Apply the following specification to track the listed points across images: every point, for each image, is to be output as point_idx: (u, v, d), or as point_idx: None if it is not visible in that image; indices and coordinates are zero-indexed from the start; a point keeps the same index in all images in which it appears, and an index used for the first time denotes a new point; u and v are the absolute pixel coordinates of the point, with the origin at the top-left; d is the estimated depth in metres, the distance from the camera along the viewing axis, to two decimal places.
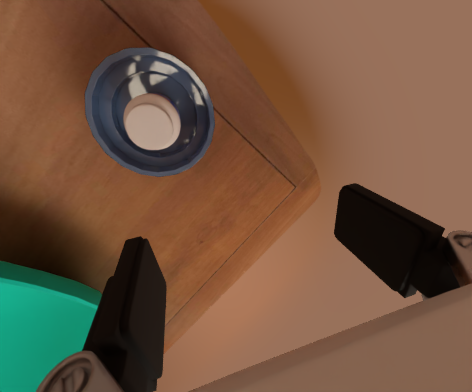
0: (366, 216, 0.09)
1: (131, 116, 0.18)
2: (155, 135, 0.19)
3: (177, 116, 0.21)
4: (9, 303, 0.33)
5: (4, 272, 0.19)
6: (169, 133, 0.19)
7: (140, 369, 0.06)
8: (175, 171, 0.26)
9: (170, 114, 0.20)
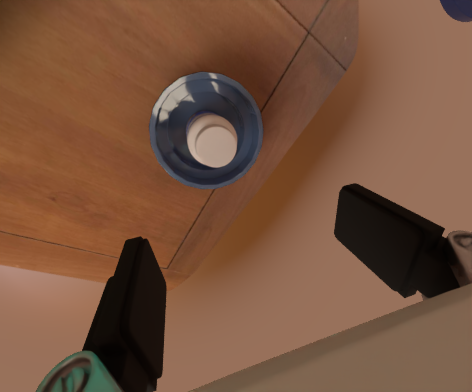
0: (366, 216, 0.09)
1: (224, 132, 0.19)
2: (211, 153, 0.20)
3: None
4: None
5: None
6: (215, 165, 0.20)
7: (140, 369, 0.06)
8: (162, 162, 0.24)
9: None
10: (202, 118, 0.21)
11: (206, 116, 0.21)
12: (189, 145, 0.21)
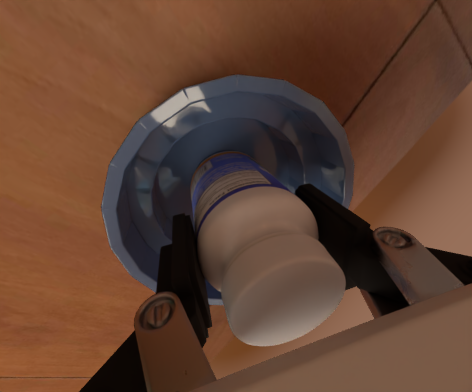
0: (314, 214, 0.09)
1: (322, 270, 0.06)
2: (273, 322, 0.07)
3: None
4: None
5: None
6: (279, 341, 0.07)
7: (200, 314, 0.07)
8: (138, 273, 0.11)
9: None
10: (241, 204, 0.07)
11: (251, 197, 0.08)
12: (203, 268, 0.08)
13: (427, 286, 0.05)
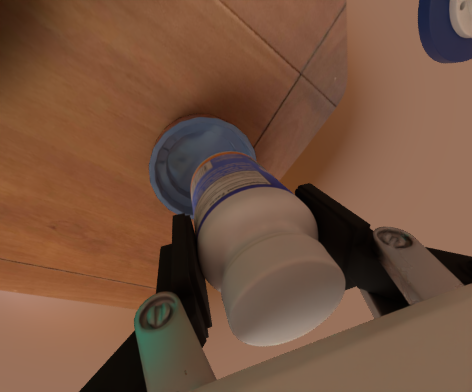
0: (314, 214, 0.09)
1: (321, 270, 0.06)
2: (273, 322, 0.07)
3: None
4: None
5: None
6: (279, 341, 0.07)
7: (200, 314, 0.07)
8: (160, 197, 0.25)
9: None
10: (241, 205, 0.07)
11: (251, 197, 0.08)
12: (203, 268, 0.08)
13: (427, 286, 0.05)
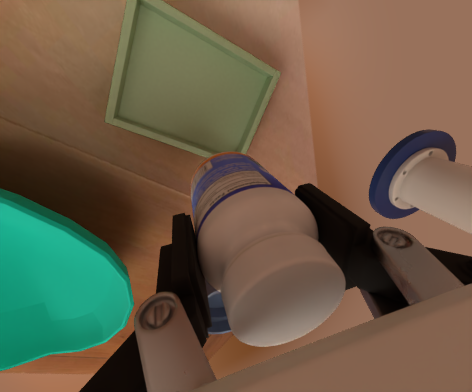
0: (314, 214, 0.09)
1: (322, 271, 0.06)
2: (273, 322, 0.07)
3: None
4: None
5: None
6: (279, 341, 0.07)
7: (200, 314, 0.07)
8: None
9: None
10: (241, 205, 0.07)
11: (251, 197, 0.08)
12: (203, 268, 0.08)
13: (427, 286, 0.05)
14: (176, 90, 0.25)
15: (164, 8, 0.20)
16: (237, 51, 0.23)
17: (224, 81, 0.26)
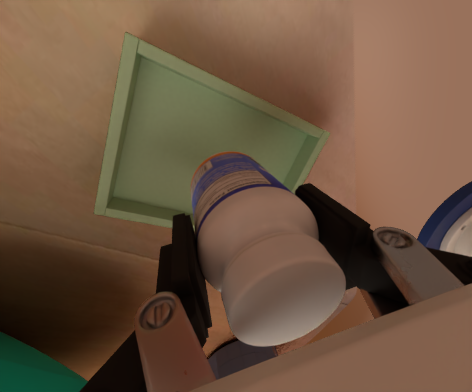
0: (314, 214, 0.09)
1: (322, 270, 0.06)
2: (273, 322, 0.07)
3: None
4: None
5: None
6: (279, 341, 0.07)
7: (200, 314, 0.07)
8: None
9: None
10: (241, 204, 0.07)
11: (251, 197, 0.08)
12: (203, 268, 0.08)
13: (427, 286, 0.05)
14: (190, 160, 0.19)
15: (176, 65, 0.14)
16: (275, 112, 0.17)
17: (253, 143, 0.19)
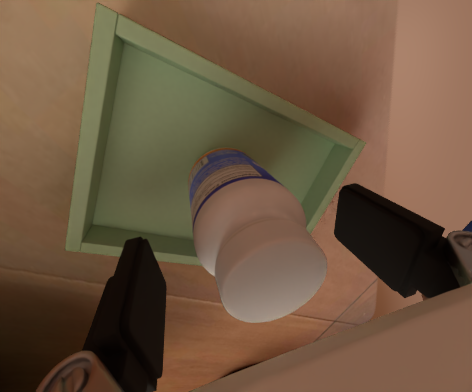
0: (366, 216, 0.09)
1: (304, 250, 0.07)
2: (261, 299, 0.07)
3: None
4: None
5: None
6: (268, 318, 0.08)
7: (140, 369, 0.06)
8: None
9: None
10: (233, 194, 0.08)
11: (242, 187, 0.08)
12: (199, 253, 0.09)
13: None
14: None
15: (172, 53, 0.10)
16: (301, 118, 0.13)
17: (268, 155, 0.16)
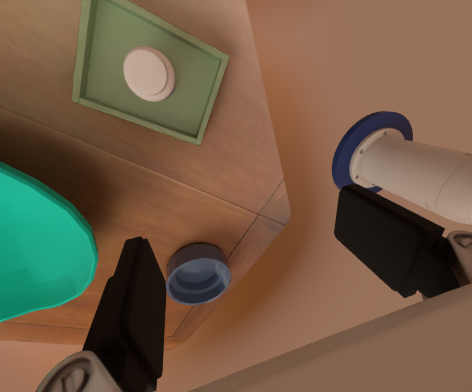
0: (366, 216, 0.09)
1: (151, 56, 0.20)
2: (141, 78, 0.21)
3: (163, 98, 0.24)
4: None
5: None
6: (147, 92, 0.21)
7: (140, 369, 0.06)
8: (172, 297, 0.42)
9: (163, 91, 0.23)
10: (135, 48, 0.21)
11: (140, 46, 0.22)
12: (125, 76, 0.22)
13: None
14: None
15: None
16: (186, 37, 0.26)
17: (180, 64, 0.29)
